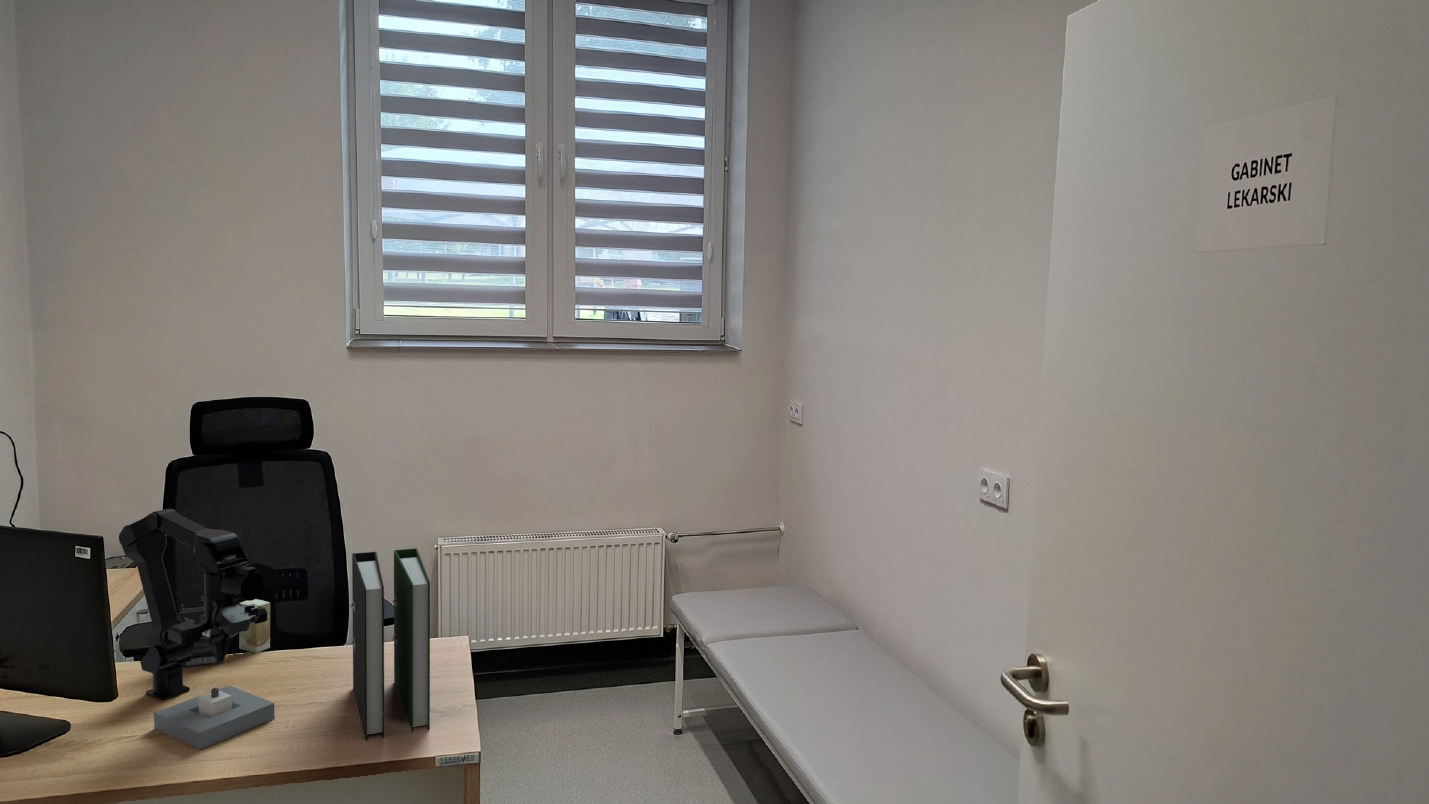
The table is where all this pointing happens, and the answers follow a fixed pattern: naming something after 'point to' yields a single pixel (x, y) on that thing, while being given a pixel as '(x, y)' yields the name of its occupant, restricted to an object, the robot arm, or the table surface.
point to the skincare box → (256, 631)
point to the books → (406, 637)
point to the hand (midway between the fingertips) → (220, 661)
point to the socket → (213, 719)
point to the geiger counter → (202, 649)
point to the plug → (214, 703)
